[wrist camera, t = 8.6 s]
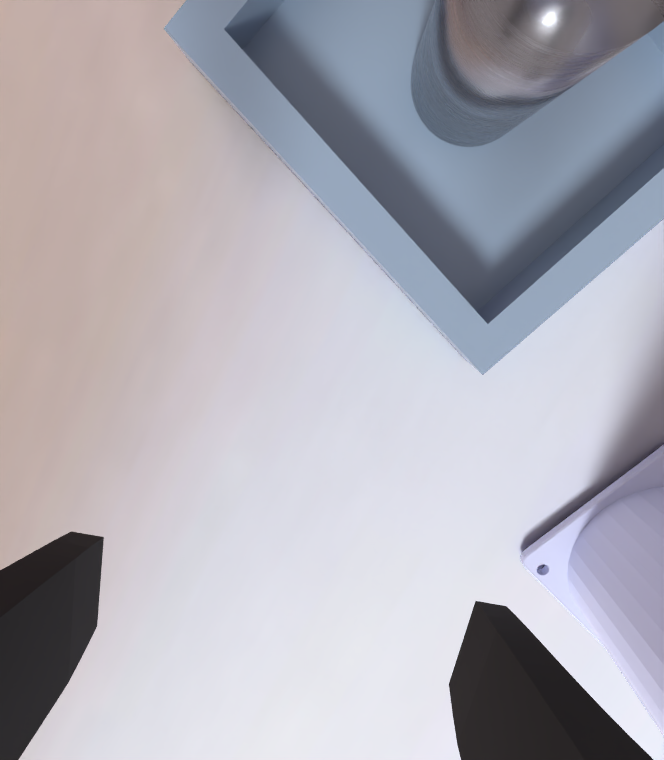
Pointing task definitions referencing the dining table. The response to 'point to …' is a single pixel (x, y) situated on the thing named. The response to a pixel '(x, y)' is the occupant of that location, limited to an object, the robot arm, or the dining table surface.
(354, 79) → the tray
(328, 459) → the dining table surface
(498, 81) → the pin
